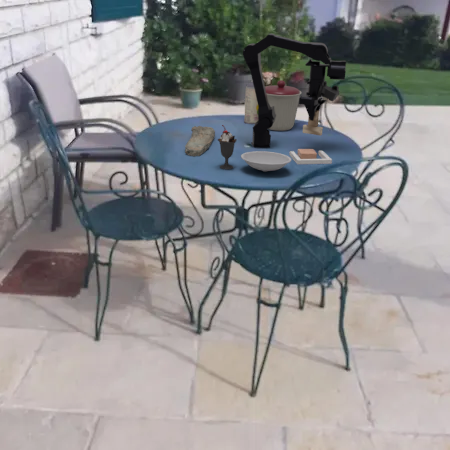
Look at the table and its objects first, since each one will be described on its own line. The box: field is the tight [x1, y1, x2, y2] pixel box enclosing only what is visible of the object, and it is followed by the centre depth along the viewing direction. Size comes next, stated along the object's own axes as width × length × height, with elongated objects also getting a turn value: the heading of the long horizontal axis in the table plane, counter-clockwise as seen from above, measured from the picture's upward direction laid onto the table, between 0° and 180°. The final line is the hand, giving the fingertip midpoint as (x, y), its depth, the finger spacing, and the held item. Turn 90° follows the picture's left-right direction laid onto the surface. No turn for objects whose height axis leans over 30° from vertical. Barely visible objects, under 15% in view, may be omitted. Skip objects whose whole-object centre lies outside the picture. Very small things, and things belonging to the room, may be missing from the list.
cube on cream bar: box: [302, 110, 324, 136], centre depth 215 cm, size 8×3×9 cm, turn 60°
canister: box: [265, 79, 302, 132], centre depth 245 cm, size 18×18×21 cm
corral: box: [288, 150, 333, 165], centre depth 208 cm, size 13×12×2 cm
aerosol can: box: [243, 79, 258, 125], centre depth 254 cm, size 7×7×20 cm
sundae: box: [217, 124, 237, 171], centre depth 194 cm, size 7×7×15 cm
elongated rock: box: [184, 125, 216, 157], centre depth 223 cm, size 35×5×10 cm
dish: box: [240, 150, 292, 173], centre depth 194 cm, size 18×14×5 cm
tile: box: [296, 148, 318, 159], centre depth 211 cm, size 6×6×2 cm
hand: (313, 119), depth 215 cm, fingers closed on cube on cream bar, 3 cm apart
